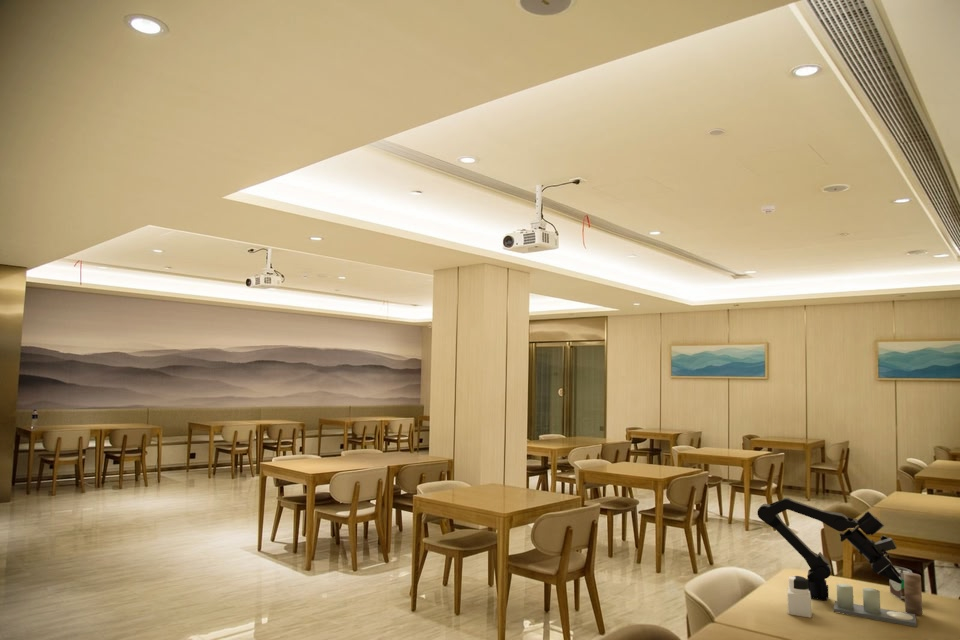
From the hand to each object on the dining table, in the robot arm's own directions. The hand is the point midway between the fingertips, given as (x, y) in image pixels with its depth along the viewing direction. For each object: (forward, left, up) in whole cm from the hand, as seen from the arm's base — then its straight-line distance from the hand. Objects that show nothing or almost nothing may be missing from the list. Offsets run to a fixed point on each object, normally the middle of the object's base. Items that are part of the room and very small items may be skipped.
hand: (900, 579), depth 225 cm
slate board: (-8, -11, -11) cm, 17 cm away
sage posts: (-13, -11, -9) cm, 19 cm away
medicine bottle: (-30, -24, -11) cm, 40 cm away
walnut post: (+4, 0, -11) cm, 11 cm away
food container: (+2, +19, -11) cm, 22 cm away
